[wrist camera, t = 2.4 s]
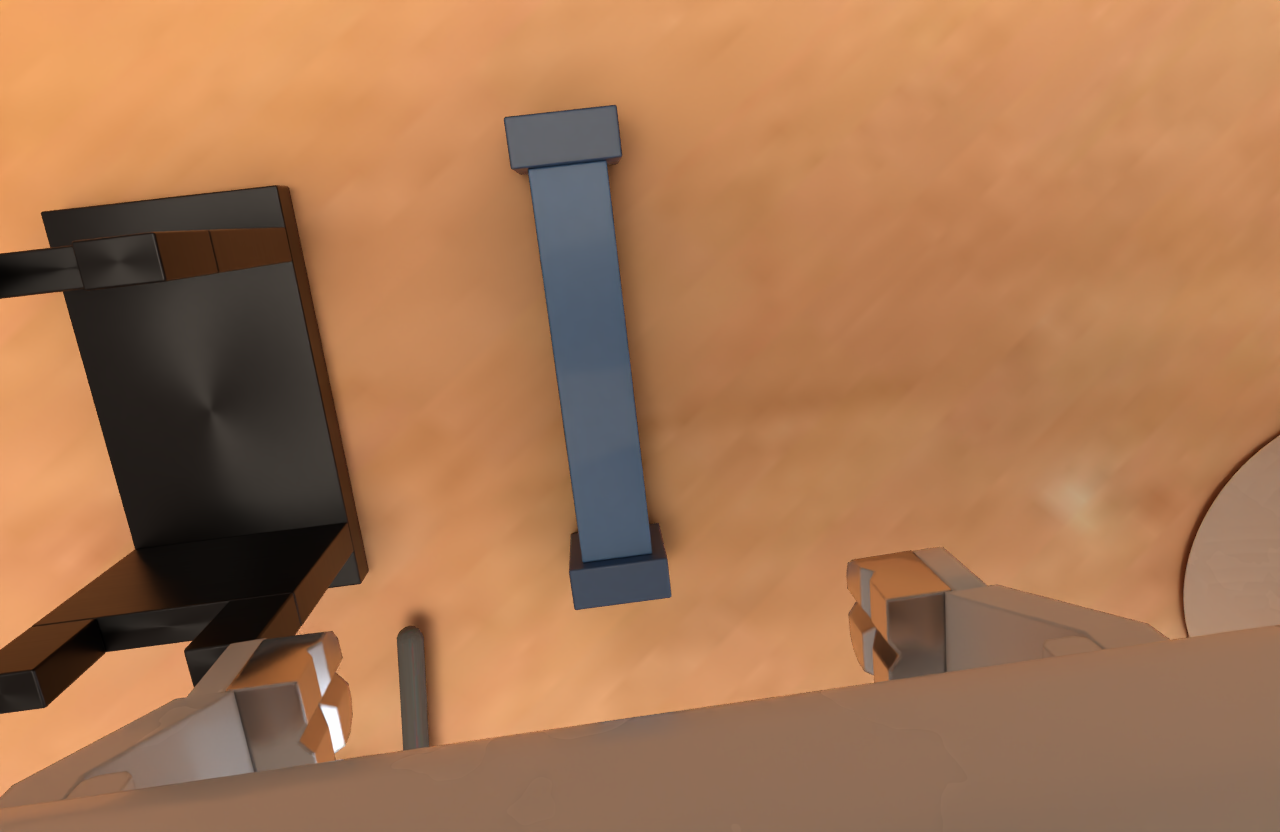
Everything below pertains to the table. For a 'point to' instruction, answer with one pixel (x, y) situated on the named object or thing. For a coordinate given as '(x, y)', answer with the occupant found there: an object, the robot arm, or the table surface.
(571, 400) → the handle
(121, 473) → the holder
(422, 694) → the walkie-talkie
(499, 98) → the table surface
